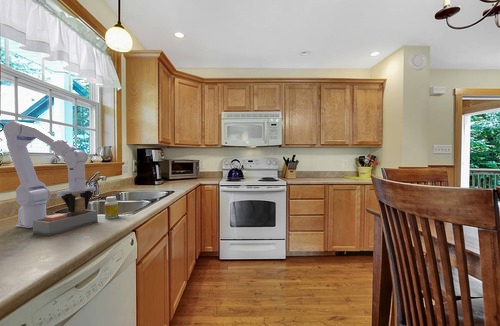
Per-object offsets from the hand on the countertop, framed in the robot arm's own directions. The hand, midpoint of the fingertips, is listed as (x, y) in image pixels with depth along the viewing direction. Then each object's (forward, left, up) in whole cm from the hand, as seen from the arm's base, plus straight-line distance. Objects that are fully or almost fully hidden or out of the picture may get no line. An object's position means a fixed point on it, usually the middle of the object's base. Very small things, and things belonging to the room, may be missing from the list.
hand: (78, 210), depth 95 cm
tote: (0, -4, -6) cm, 7 cm away
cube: (0, -9, -5) cm, 10 cm away
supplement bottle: (+4, +12, -6) cm, 14 cm away
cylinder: (0, 0, -2) cm, 2 cm away
